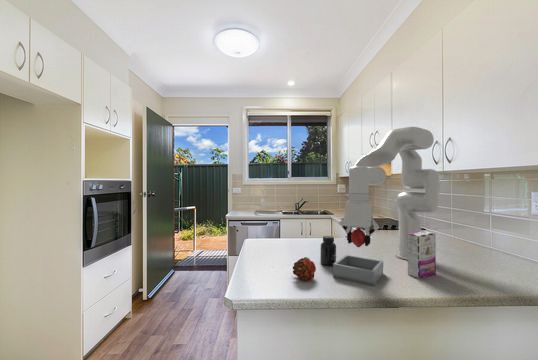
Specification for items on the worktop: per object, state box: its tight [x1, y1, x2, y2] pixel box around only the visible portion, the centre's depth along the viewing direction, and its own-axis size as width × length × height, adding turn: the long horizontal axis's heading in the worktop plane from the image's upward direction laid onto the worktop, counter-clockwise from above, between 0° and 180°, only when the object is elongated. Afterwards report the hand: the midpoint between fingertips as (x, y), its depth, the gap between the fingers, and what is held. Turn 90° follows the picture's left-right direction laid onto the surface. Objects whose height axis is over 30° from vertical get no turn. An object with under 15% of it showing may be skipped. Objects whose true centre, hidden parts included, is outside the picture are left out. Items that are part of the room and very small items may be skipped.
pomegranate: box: [351, 228, 366, 248], centre depth 102 cm, size 6×6×8 cm
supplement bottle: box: [319, 235, 337, 267], centre depth 115 cm, size 7×7×12 cm
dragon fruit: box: [292, 256, 317, 282], centre depth 99 cm, size 8×8×12 cm
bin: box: [332, 254, 384, 287], centre depth 102 cm, size 15×15×5 cm
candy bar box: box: [407, 230, 437, 279], centre depth 103 cm, size 11×5×16 cm, turn 117°
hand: (358, 243), depth 102 cm, fingers closed on pomegranate, 5 cm apart
